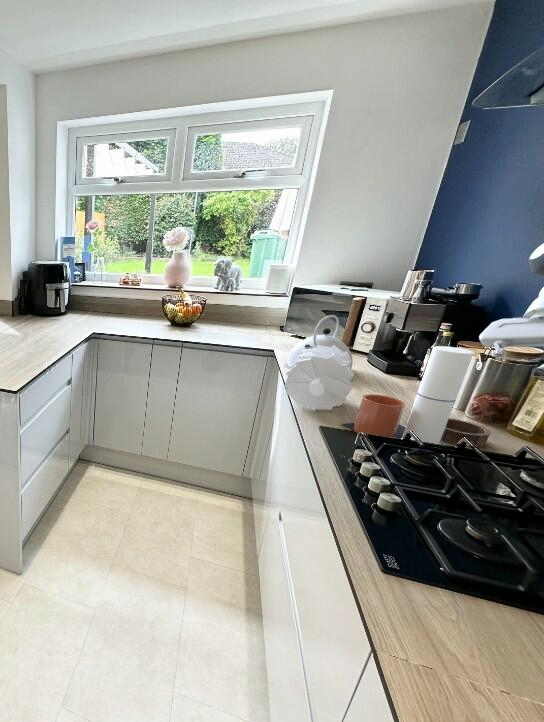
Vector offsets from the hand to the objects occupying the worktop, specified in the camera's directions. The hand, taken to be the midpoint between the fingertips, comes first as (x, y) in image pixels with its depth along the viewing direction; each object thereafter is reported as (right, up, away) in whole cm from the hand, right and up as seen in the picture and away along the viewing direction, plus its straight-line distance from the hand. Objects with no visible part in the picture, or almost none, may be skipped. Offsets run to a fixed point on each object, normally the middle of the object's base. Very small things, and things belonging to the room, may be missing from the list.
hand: (525, 355), depth 98 cm
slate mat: (-21, -22, +12) cm, 32 cm away
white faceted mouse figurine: (-26, -13, +37) cm, 47 cm away
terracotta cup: (-25, -21, +14) cm, 36 cm away
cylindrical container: (-17, -22, +9) cm, 29 cm away
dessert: (-15, -20, +32) cm, 41 cm away
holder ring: (-5, -22, +11) cm, 25 cm away
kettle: (0, 0, +72) cm, 72 cm away
